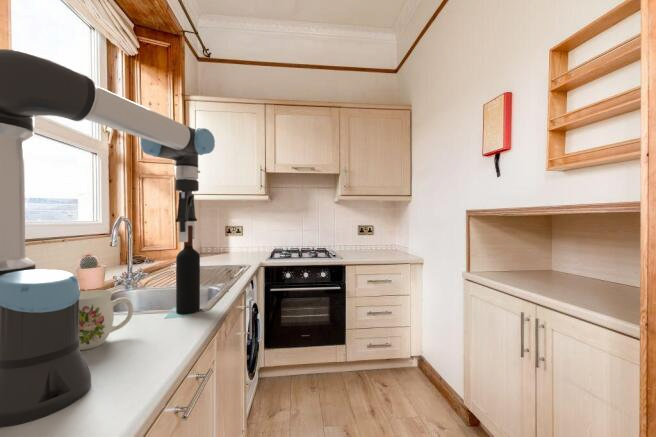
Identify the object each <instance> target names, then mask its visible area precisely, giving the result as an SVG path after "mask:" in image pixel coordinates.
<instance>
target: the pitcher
mask: <svg viewBox="0 0 656 437" xmlns="http://www.w3.org/2000/svg"><path fill="white" fill-rule="evenodd" d="M112 295H113V291H112V290H109V289H108V290H107V289H95V290H94V289H93V290H84V291H83V290H82V291H80V297H79V348H80V351H86V350H91V349H95V348H97V347H100V346H102V345H103V344H104V343H105V341H106V340H107V339H108V337H109V335H110V334H111V333H113V332H115V331H118V330H119V329H122V328H124V327H125V326H126V325H127V324H128V323H129V322H130V321H131V319H132V317H133V315H134V314H133V313H134V306H133V303H132V301H131V299H129V298H128V297H124V296H123V297H119V298H116V299H114V300H111V299H112ZM119 303H125V304H126V306H127V309H128V311H127V315H126V316H125V318H124V319H123V320H122V321H120V322H119V323H118V324H115V325H114V319H115V314H114V313H115V312H114V307H115V306H116V305H118V304H119Z"/></svg>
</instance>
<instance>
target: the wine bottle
mask: <svg viewBox="0 0 656 437" xmlns="http://www.w3.org/2000/svg"><path fill="white" fill-rule="evenodd" d="M193 240H194V239H193V226H191V225H188V242H183V248H182V250H181V251H179V252H178V253H177V255H176V258H175V259H176V260H175V262H176V263H175V264H176V266H175V268H176V269H175V274H176V276H175V278H176V280H175V282H176V283H175V285H176V286H175V296H176V297H175V298H176V299H175V302H176V304H175V307H176V313H177V314H182V315H184V314H192V315H194V314H195V313H198V312H200V311H201V310H200V306H201V305H200V304H201V274H200V273H201V256H200V253H199V252H198V251H197V250H195V249H194V246H193ZM199 310H200V311H199Z"/></svg>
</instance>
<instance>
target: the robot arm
mask: <svg viewBox="0 0 656 437" xmlns="http://www.w3.org/2000/svg"><path fill="white" fill-rule="evenodd" d="M38 116H41V117H42V116H47V117H48V116H49V117H59V118H63V119H68V120H70V121H74V122H82V121H84V120H85V121H89V122H92V123H95V124H99V125H101V126H103V127H104V126H105V127H107V128H110V129H114V130H115V131H116V130H117V131H119V132H122V133H126V134H128V135H131V136H135V137H138V138H140V141H139V142H140V149H141V150H142V152H143V153H144V154H146V155H148V156H152V157H154V158H156V157H157V158H162V159H167V160H173V161H174V178H175V181H174V190H175V191H177V192H178V204H177V205H178V206H177V212H176V213H177V215H176V219H175V223H178V243H184V242H188V225H191V226H193V240H194V239H196V231H195V230H196V225H195V224H196V222H197V221H198V219H197V217H196V209H195V208H196V207H195V194H193V192H198V191H199V187H200V186H199V184H200V183H199V180H198V179H199V174H200V173H201V170H199V155H200V156H203V155H207V154H210V153H212V152H213V151H214V150H215V146H216V144H215V142H216V141H215V137H214V135H213V133H212V132H211V130H210V129H207V128H202V127H201V128H200V127H198V128H192V127H191V126H188V125H185V124H183V123H181V122H179V121H177V120H174V119H172V118H170V117H168V116H166V115H163V114H162V113H161V114H160V113H158V112H157V111H154V110H152V109H150V108H147V107H145V106H144V105H141V104H139V103H136V102H134V101H131V100H130V99H127V98H125V97H122V96H121V95H118V94H117V93H113V92H111V91H110V90H107V89H105V88H102V87H100V86H98V85H96V84H95V81H94V80H93V78H91V77H89V76H87V75H85V74H83V73H81V72H78V71H76V70H74V69H73V68H69V67H67V66H66V65H63V64H60V63H58V62H55V61H52V60H50V59H47V58H46V57H45V58H44V57H43V56H39V55H36V54H33V53H30V52H25V51H21V50H17V49H8V48H7V49H6V48H5V49H4V48H1V49H0V428H4V427H11V426H15V425H22V424H25V423H29V422H33V421H36V420H39V419H43V418H44V417H47V416H51V415H52V414H55V413H57V412H59V411H62V410H64V409H66V408H68V407H70V406H72V405H73V404H75V403H76V402H78V401H79V400H81V399H82V398H83V397H85V395H86V394H88V392H89V391H90V389H91V387H92V374H91V370H90V369H89V367H88V364H87V363H86V360H85V358H84V356H83V354H82V350H80V348H79V297H80V292H81V291H80V285H79V280H78V278H77V276H76V275H75V274H74V273H72V272H70V271H65V270H60V269H43V268H42V269H39V268H38V269H36V262H35V261H33V260H32V259H31V258H29V257H28V256H27V254H26V215H25V214H26V210H25V209H26V206H25V205H26V202H25V200H26V199H25V196H26V195H25V194H26V193H25V192H26V191H25V185H26V184H25V142H26V141H27V140H29V139H30V138H32V137H34V135H35V117H38Z"/></svg>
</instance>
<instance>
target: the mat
mask: <svg viewBox="0 0 656 437" xmlns="http://www.w3.org/2000/svg"><path fill="white" fill-rule="evenodd" d="M171 310H176V306H175V307H172V309H171ZM192 316H193V314H184V315H182V314H177V313H173V312H172V313H171V312H170V311H169V312H168V313H167V315H165V317H164V319H173V318H174V319H175V318H185V317H192ZM164 319H163V320H164Z"/></svg>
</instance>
